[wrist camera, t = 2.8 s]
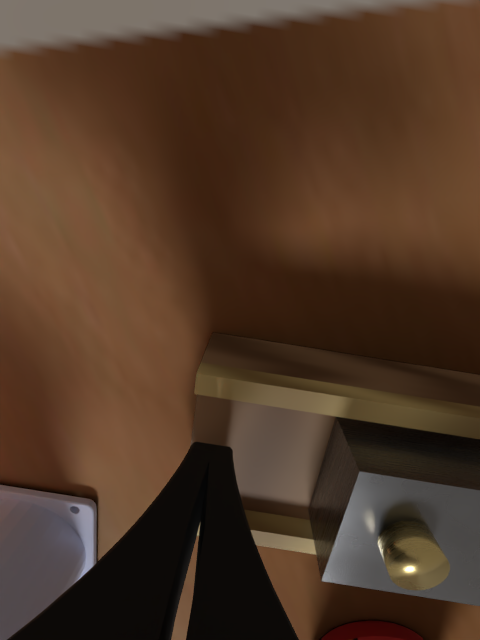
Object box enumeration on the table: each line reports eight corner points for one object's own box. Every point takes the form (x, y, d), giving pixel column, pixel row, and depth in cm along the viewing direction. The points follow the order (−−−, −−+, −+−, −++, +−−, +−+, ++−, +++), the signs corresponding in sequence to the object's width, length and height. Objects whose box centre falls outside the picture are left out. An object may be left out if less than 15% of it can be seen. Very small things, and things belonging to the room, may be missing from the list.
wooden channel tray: (195, 459, 15) (177, 532, 12) (212, 332, 13) (196, 373, 9) (543, 514, 15) (633, 604, 12) (617, 396, 13) (756, 462, 9)
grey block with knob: (308, 510, 12) (327, 611, 9) (335, 415, 11) (370, 496, 7) (455, 533, 12) (526, 643, 9) (502, 442, 11) (607, 534, 7)
